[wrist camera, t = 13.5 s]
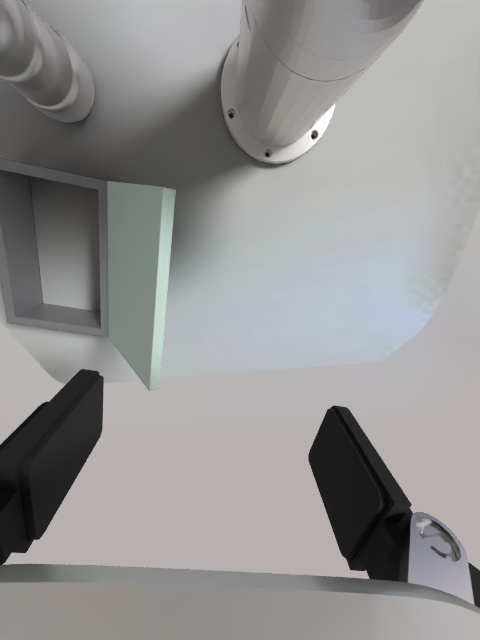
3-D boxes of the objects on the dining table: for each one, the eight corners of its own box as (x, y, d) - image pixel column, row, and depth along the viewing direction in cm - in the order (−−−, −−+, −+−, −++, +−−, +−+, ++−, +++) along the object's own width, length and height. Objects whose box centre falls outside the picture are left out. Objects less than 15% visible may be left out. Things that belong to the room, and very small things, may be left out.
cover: (163, 186, 18) (175, 190, 18) (107, 180, 25) (117, 183, 26) (149, 391, 24) (159, 388, 25) (108, 337, 32) (116, 336, 32)
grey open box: (18, 164, 29) (-22, 153, 24) (126, 186, 30) (108, 181, 25) (36, 308, 35) (7, 322, 30) (123, 321, 36) (109, 336, 32)
